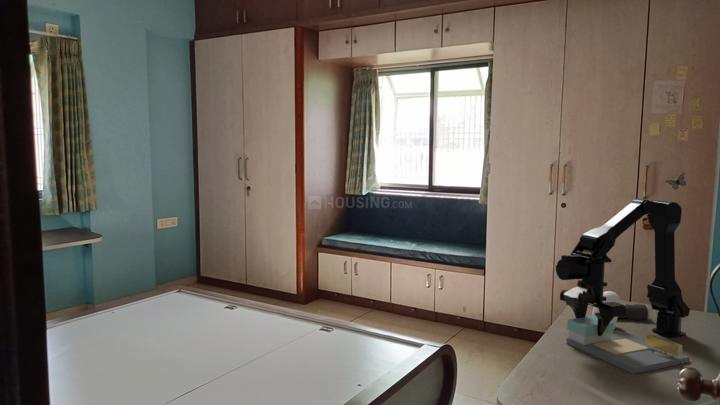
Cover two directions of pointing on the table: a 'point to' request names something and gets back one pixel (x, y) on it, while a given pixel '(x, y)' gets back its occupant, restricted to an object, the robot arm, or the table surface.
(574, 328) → the cover
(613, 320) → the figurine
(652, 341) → the yellow rectangular block
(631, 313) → the flashlight
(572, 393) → the table surface
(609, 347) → the panel
